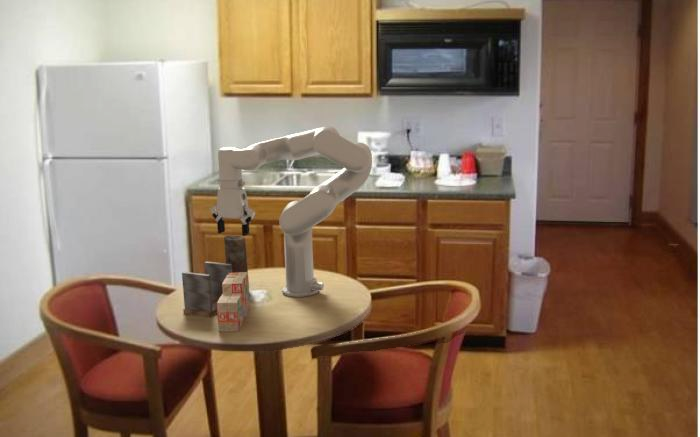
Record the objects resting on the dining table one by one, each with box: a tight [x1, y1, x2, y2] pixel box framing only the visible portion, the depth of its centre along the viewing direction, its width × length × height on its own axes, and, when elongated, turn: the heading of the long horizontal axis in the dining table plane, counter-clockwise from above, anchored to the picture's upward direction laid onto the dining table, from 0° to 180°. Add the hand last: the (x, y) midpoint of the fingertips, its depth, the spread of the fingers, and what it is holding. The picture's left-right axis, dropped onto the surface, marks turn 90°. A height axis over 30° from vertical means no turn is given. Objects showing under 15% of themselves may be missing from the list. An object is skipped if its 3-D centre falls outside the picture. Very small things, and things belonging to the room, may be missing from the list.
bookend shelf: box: [181, 261, 232, 318], centre depth 249 cm, size 10×15×14 cm, turn 155°
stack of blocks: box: [216, 271, 251, 332], centre depth 239 cm, size 21×6×12 cm, turn 178°
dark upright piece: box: [223, 235, 249, 282], centre depth 263 cm, size 8×7×20 cm
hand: (233, 233), depth 261 cm, fingers open, 9 cm apart
